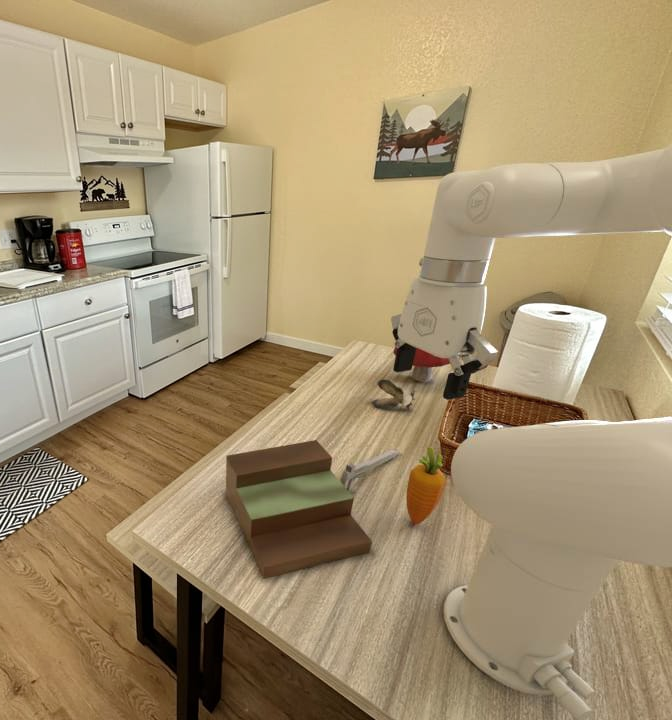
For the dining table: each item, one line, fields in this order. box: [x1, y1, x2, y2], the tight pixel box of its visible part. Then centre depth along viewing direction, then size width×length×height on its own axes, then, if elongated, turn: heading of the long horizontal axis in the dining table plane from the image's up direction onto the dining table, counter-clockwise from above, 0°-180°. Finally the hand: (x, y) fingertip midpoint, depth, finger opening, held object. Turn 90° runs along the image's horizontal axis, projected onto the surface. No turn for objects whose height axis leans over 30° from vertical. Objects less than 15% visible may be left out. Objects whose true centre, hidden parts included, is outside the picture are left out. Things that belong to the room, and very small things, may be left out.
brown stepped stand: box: [225, 439, 373, 579], centre depth 65 cm, size 18×18×9 cm
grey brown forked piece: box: [371, 378, 417, 411], centre depth 99 cm, size 8×7×9 cm
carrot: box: [405, 446, 447, 525], centre depth 62 cm, size 5×5×15 cm
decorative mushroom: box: [392, 346, 451, 383], centre depth 110 cm, size 16×16×15 cm
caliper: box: [339, 448, 400, 492], centre depth 76 cm, size 20×1×6 cm, turn 127°
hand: (425, 383), depth 59 cm, fingers open, 9 cm apart
